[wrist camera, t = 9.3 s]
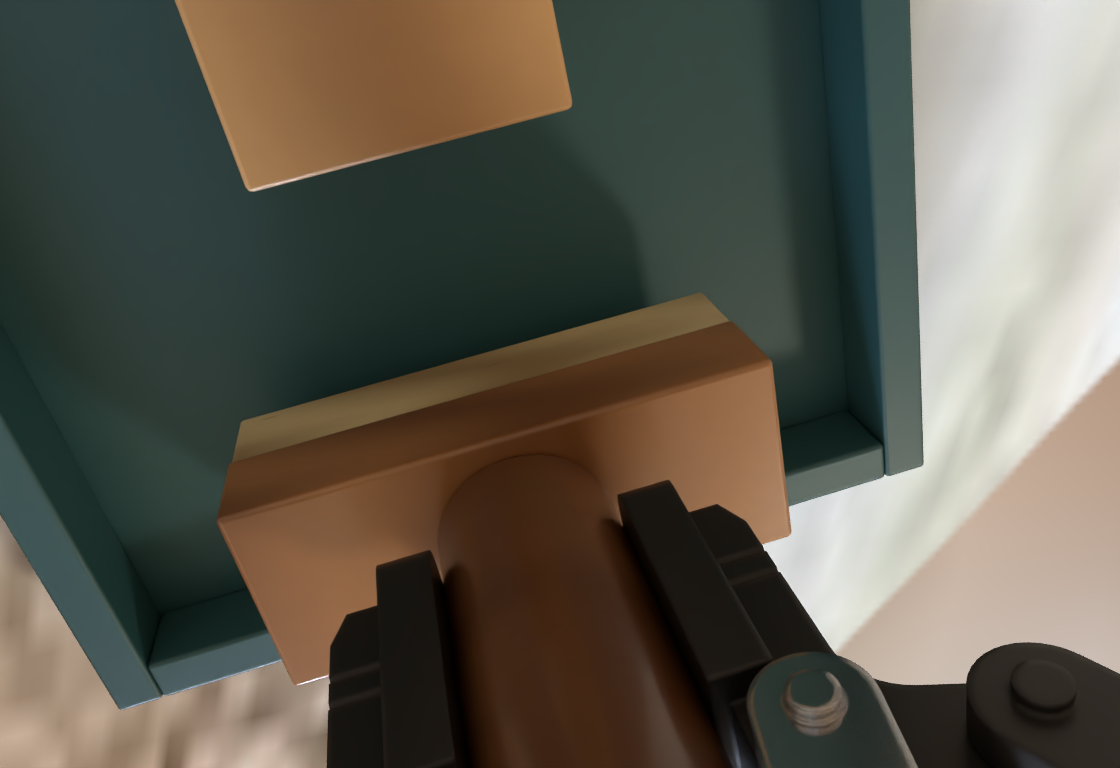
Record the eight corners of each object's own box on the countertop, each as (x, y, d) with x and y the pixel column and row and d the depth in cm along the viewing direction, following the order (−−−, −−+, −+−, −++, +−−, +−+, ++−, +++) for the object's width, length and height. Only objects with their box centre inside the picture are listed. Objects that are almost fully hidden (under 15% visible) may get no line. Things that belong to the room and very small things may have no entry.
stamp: (303, 565, 17) (258, 1152, 9) (236, 414, 15) (112, 955, 7) (724, 441, 17) (1045, 880, 9) (700, 285, 16) (1058, 649, 8)
